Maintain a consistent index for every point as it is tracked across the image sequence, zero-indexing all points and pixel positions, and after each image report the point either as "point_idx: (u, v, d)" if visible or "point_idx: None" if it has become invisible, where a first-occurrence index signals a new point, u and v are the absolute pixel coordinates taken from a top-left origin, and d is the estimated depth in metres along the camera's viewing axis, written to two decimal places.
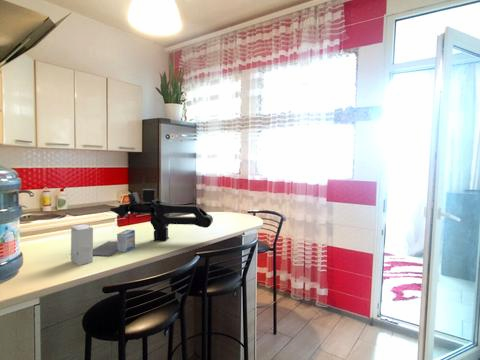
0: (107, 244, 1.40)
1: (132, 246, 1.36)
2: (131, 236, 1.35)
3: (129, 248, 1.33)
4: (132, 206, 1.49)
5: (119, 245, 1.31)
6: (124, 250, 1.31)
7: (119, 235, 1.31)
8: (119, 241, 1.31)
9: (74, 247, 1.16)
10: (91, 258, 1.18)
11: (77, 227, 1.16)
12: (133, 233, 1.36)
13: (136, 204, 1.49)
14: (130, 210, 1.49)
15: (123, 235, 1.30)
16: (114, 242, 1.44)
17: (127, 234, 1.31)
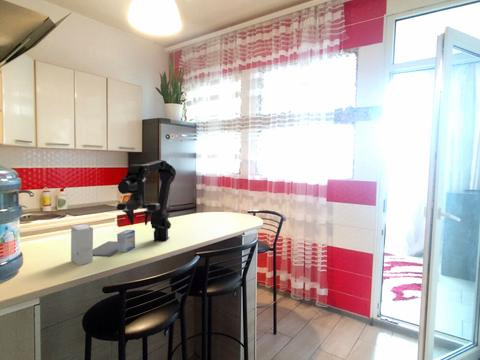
0: (107, 244, 1.40)
1: (132, 246, 1.36)
2: (131, 236, 1.35)
3: (129, 248, 1.33)
4: (142, 202, 1.31)
5: (119, 245, 1.31)
6: (124, 250, 1.31)
7: (119, 235, 1.31)
8: (119, 241, 1.31)
9: (74, 247, 1.16)
10: (91, 258, 1.18)
11: (77, 227, 1.16)
12: (133, 233, 1.36)
13: (141, 197, 1.30)
14: (145, 203, 1.33)
15: (123, 234, 1.30)
16: (114, 242, 1.44)
17: (127, 234, 1.31)
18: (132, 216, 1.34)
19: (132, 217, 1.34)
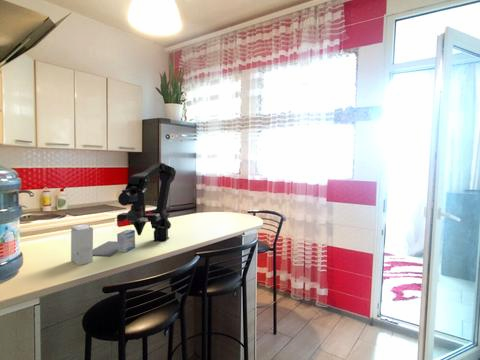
0: (107, 244, 1.40)
1: (132, 246, 1.36)
2: (131, 236, 1.35)
3: (129, 248, 1.33)
4: (143, 212, 1.31)
5: (119, 245, 1.31)
6: (124, 250, 1.31)
7: (119, 235, 1.31)
8: (119, 241, 1.31)
9: (74, 247, 1.16)
10: (91, 258, 1.18)
11: (77, 227, 1.16)
12: (133, 233, 1.36)
13: (141, 208, 1.30)
14: (145, 214, 1.34)
15: (123, 234, 1.30)
16: (114, 242, 1.44)
17: (127, 234, 1.31)
18: None
19: None
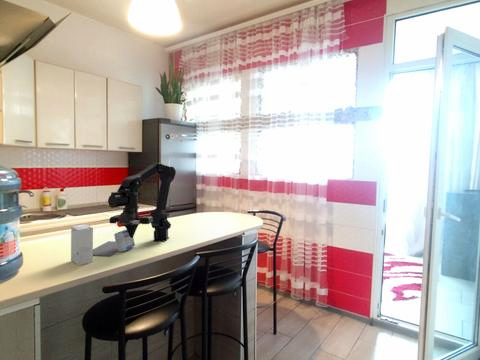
0: (107, 244, 1.40)
1: (131, 244, 1.36)
2: None
3: (128, 246, 1.33)
4: (135, 215, 1.32)
5: (118, 245, 1.31)
6: (124, 249, 1.31)
7: (116, 235, 1.31)
8: (117, 241, 1.31)
9: (74, 247, 1.16)
10: (91, 258, 1.18)
11: (77, 227, 1.16)
12: None
13: (134, 211, 1.31)
14: (137, 216, 1.34)
15: (120, 233, 1.30)
16: (114, 242, 1.44)
17: (124, 232, 1.32)
18: None
19: None
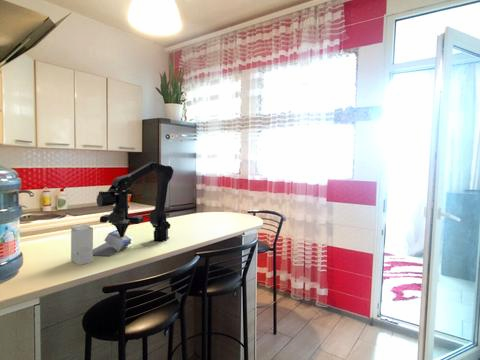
0: (107, 244, 1.40)
1: (127, 239, 1.36)
2: (118, 233, 1.36)
3: (124, 241, 1.34)
4: (125, 214, 1.32)
5: (114, 246, 1.31)
6: (120, 244, 1.31)
7: (106, 239, 1.32)
8: (111, 243, 1.31)
9: (74, 247, 1.16)
10: (91, 258, 1.18)
11: (77, 227, 1.16)
12: None
13: (124, 210, 1.31)
14: (128, 216, 1.34)
15: (108, 235, 1.31)
16: None
17: (111, 233, 1.33)
18: (121, 228, 1.35)
19: (121, 229, 1.35)
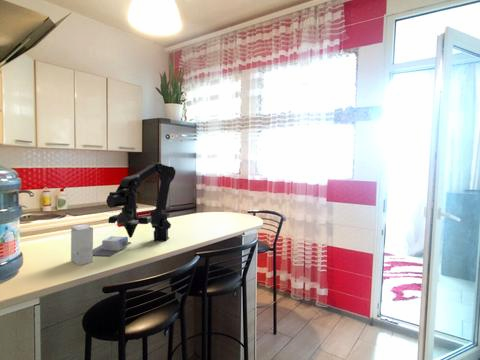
0: None
1: (123, 238, 1.36)
2: (112, 237, 1.36)
3: (120, 239, 1.34)
4: (134, 215, 1.32)
5: (113, 248, 1.31)
6: (117, 243, 1.31)
7: (103, 247, 1.32)
8: (109, 247, 1.32)
9: (74, 247, 1.16)
10: (91, 258, 1.18)
11: (77, 227, 1.16)
12: (112, 236, 1.38)
13: (132, 211, 1.31)
14: (136, 216, 1.34)
15: (103, 242, 1.32)
16: None
17: None
18: None
19: None
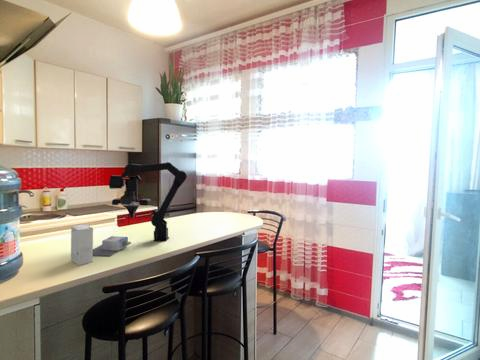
0: None
1: (123, 238, 1.36)
2: (112, 237, 1.36)
3: (120, 239, 1.34)
4: None
5: (113, 248, 1.31)
6: (117, 243, 1.31)
7: (103, 247, 1.32)
8: (109, 247, 1.32)
9: (74, 247, 1.16)
10: (91, 258, 1.18)
11: (77, 227, 1.16)
12: (112, 236, 1.38)
13: (134, 193, 1.44)
14: (137, 199, 1.48)
15: (103, 242, 1.32)
16: None
17: None
18: None
19: None
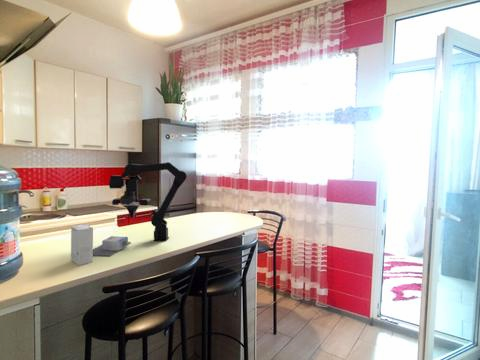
0: None
1: (123, 238, 1.36)
2: (112, 237, 1.36)
3: (120, 239, 1.34)
4: None
5: (113, 248, 1.31)
6: (117, 243, 1.31)
7: (103, 247, 1.32)
8: (109, 247, 1.32)
9: (74, 247, 1.16)
10: (91, 258, 1.18)
11: (77, 227, 1.16)
12: (112, 236, 1.38)
13: (134, 193, 1.45)
14: (137, 199, 1.48)
15: (103, 242, 1.32)
16: None
17: None
18: None
19: None
